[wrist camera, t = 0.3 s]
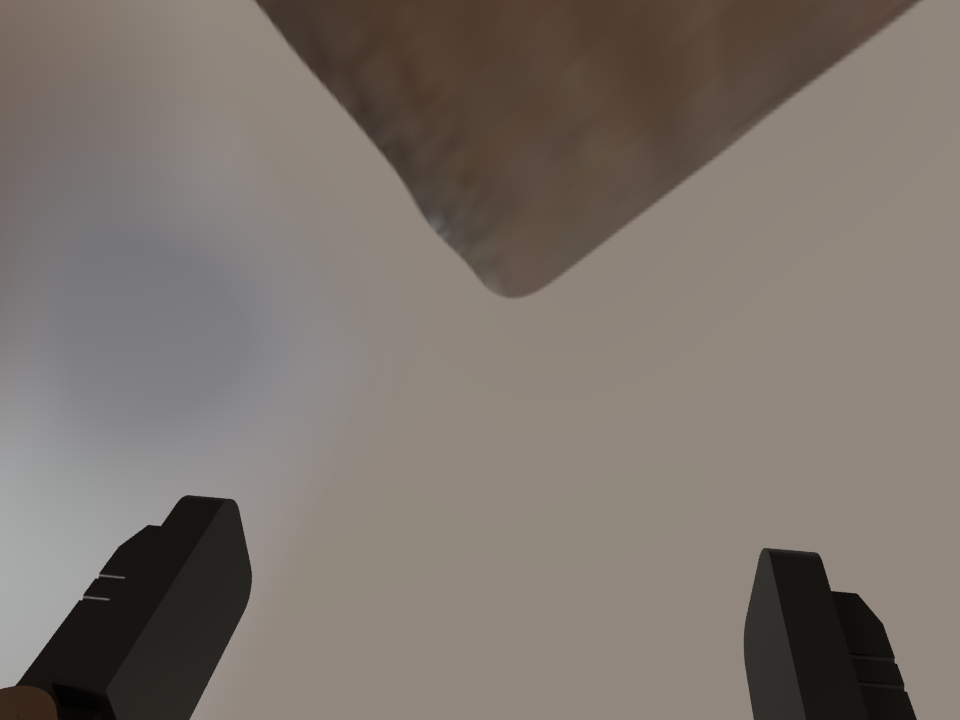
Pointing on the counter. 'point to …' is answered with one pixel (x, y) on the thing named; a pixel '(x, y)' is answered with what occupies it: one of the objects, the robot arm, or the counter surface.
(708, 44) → the counter surface
